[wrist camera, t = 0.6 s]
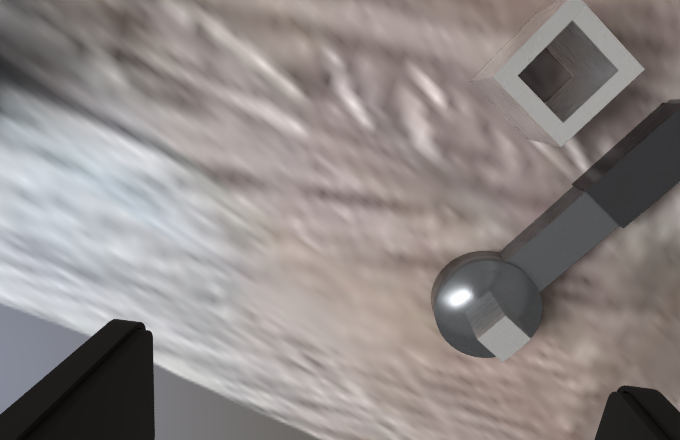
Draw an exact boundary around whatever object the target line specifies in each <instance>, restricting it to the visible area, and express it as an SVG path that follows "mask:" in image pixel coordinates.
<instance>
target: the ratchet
mask: <svg viewBox="0 0 680 440" xmlns="http://www.w3.org/2000/svg"><path fill="white" fill-rule="evenodd" d="M679 181H680V100H669V101H668V102H667V103H662V104H661V105H660V106H659V107H658V108H657V109H655V110H654V111H653V112H652V113H651V114H650V115H649V116H648V117H647V118H645V119H644V120H643V121H642V122H641V123H640V124H639V125H638V126H636V127H635V128H634V129H633V130H632V131H631V132H630V133H629V134H628V135H626V136H625V137H624V138H623V139H622V140H621V141H620V142H619V143H618V144H616V145H615V146H614V147H613V148H612V149H611V150H610V151H609V152H607V153H606V154H605V155H604V156H603V157H602V158H601V159H600V160H599V161H597V162H596V163H595V164H594V165H593V166H592V167H591V168H590V169H589V170H587V171H586V172H585V173H584V174H583V175H582V176H581V177H580V178H578V179H577V180H576V181H575V182H574V183H573V184H572V185H573V187H572V188H571V189H570V190H569V191H568V192H567V193H566V194H564V195H563V196H562V197H561V198H560V199H559V200H558V201H557V202H555V203H554V204H553V205H552V206H551V207H550V208H549V209H548V210H546V211H545V212H544V213H543V214H542V215H541V216H540V217H539V218H538V219H536V220H535V221H534V222H533V223H532V224H531V225H530V226H529V227H527V228H526V229H525V230H524V231H523V232H522V233H521V234H520V235H519V236H517V237H516V238H515V239H514V240H513V241H512V242H511V243H510V244H508V245H507V246H506V247H505V248H504V249H503V250H502V251H501V252H500V253H495V252H489V251H479V252H472V253H468V254H465V255H462V256H460V257H458V258H456V259H454V260H453V261H451V262H450V263H449V264H448V265H446V266H445V267H444V268H443V269H442V271H441V272H440V273H439V275H438V276H437V278H436V280H435V282H434V285H433V288H432V293H431V304H432V309H433V312H434V316H435V319H436V322H437V325H438V328H439V331H440V332H441V334H442V336H443V337H444V339H445V340H446V341H447V342H448V343H449V344H450V345H451V346H452V347H454V348H455V349H457V350H458V351H460V352H462V353H464V354H467V355H470V356H474V357H481V358H491V357H497V358H498V359H499V360H501V361H502V362H504V361H505V360H506V359H507V358H509V357H510V356H511V355H512V354H514V353H515V352H516V351H517V350H519V349H520V348H521V347H522V346H523V345H525V344H526V343H527V342H528V341H530V340H531V339H530V338H531V337H532V336H533V335H534V333H535V332H536V330H537V328H538V326H539V324H540V321H541V318H542V312H543V304H542V298H541V294H540V292H541V291H542V290H543V289H544V288H545V287H547V286H548V285H549V284H550V283H551V282H553V281H554V280H555V279H556V278H557V277H558V276H560V275H561V274H562V273H563V272H564V271H566V270H567V269H568V268H569V267H570V266H572V265H573V264H574V263H575V262H576V261H578V260H579V259H580V258H581V257H582V256H583V255H585V254H586V253H587V252H588V251H589V250H591V249H592V248H593V247H594V246H595V245H597V244H598V243H599V242H600V241H601V240H602V239H604V238H605V237H606V236H607V235H608V234H610V233H611V232H612V231H613V230H614V229H616V228H617V227H618V226H620V227H622V228H624V227H626V226H627V225H628V224H629V223H630V222H632V221H633V220H634V219H635V218H636V217H638V216H639V215H640V214H641V213H642V212H644V211H645V210H646V209H647V208H648V207H650V206H651V205H652V204H653V203H654V202H656V201H657V200H658V199H659V198H660V197H662V196H663V195H664V194H665V193H666V192H668V191H669V190H670V189H671V188H672V187H674V186H675V185H676V184H677V183H678V182H679Z"/></svg>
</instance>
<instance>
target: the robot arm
mask: <svg viewBox="0 0 680 440" xmlns="http://www.w3.org/2000/svg"><path fill="white" fill-rule="evenodd" d="M153 377H154V375H153V336H152V333H151V331H148V330H146V328H145V325H144V324H143V323H142V322H135V321H127V320H119V319H113V320H111V321H110V322H109V323H107V324H106V325H105V326H104V327H103V328H101V329H100V330H99V331H98V332H97V333H96V334H94V335H93V336H92V337H91V338H90V339H89V340H88V341H86V342H85V343H84V344H83V345H82V346H80V347H79V348H78V349H77V350H76V351H74V352H73V353H72V354H71V355H70V356H69V357H67V358H66V359H65V360H64V361H63V362H62V363H60V364H59V365H58V366H57V367H56V368H54V369H53V370H52V371H51V372H50V373H49V374H47V375H46V376H45V377H44V378H43V379H42V380H40V381H39V382H38V383H37V384H36V385H34V386H33V387H32V388H31V389H30V390H29V391H28V392H26V393H25V394H24V395H23V396H22V397H20V398H19V399H18V400H17V401H16V402H15V403H13V404H12V405H11V406H10V407H9V408H7V409H6V410H5V411H4V412H3V413H2V414H0V440H154V438H155V437H154V436H155V428H154V427H155V426H154V378H153ZM595 440H680V412H679V411H678V410H677V409H676V408H675V407H674V406H673V405H672V404H671V403H670V402H669V401H668V400H667V399H666V398H665V397H664V396H663V395H662V394H661V393H660V392H659V391H657V390H654V389H648V388H641V387H633V386H621V387H620V388H619V389H618V390H617V392H612V393H611V394H610V395H609V397H608V400H607V403H606V406H605V409H604V412H603V415H602V418H601V422H600V425H599V428H598V431H597V434H596V437H595Z"/></svg>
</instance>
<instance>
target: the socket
mask: <svg viewBox="0 0 680 440" xmlns="http://www.w3.org/2000/svg"><path fill="white" fill-rule="evenodd" d="M544 48H546V49H547V50H548V51H549V52H550V53H551V54H552V55H553V57H554V58H555V59H556V60H557V61H558V62H559V63H560V64H561V65H562V66H563V67H564V68H565V69H566V70H567V71H568V72H569V74H570V75H571V76H572V77H571V78H570V79H569V80H568V81H567V82H566V83H565V84H564V85H563V86H562V87H560V88H559V89H558V90H557V91H556V92H555V93H554V94H553V95H552V96H551V97H550V98H549V99H548V100H547V101H546V102H545V103H543V102H542V100H541V99H540V98H539V97H538V96H537V95H536V94H535V93H534V92H533V91H532V90H531V89H530V88H529V87H528V86H527V85H526V84H525V83H524V82H523V81H522V80H521V79H520V78H519V77H518V75H519V74H520V73H521V72H522V71H523V70H524V69H525V68H526V67H527V66H528V65H529V63H530V62H531V61H532V60H533V59H534V58H535V57H536V56H537V55H538V54H539V53H540V52H541V51H542V50H543V49H544ZM644 70H645V69H644V68H643V67H642V66H641V65H640V64H639V62H638V61H637V60H636V59H635V58H634V57H633V56H632V55H631V54H630V53H629V51H628V50H627V49H626V48H625V47H624V46H623V45H622V44H621V43H620V42H619V40H618V39H617V38H616V37H615V36H614V35H613V34H612V33H611V32H610V30H609V29H608V28H607V27H606V26H605V25H604V24H603V23H602V22H601V21H600V19H599V18H598V17H597V16H596V15H595V14H594V13H593V12H592V11H591V10H590V8H589V7H588V6H587V5H586V4H585V3H584V2H583V1H582V0H560V1H558V2H556V3H554V4H552V5H550V6H548V7H546V8H544V9H543V10H541V11H539V12H537V13H535V14H534V15H533V16H532V17H531V18H530V19H529V20H528V21H527V22H526V23H525V25H524V26H523V27H522V28H521V29H520V30H519V31H518V32H517V33H516V34H515V35H514V36H513V37H512V38H511V39H510V40H509V41H508V42H507V43H506V44H505V45H504V46H503V47H502V48H501V49H500V51H499V52H498V53H497V54H496V55H495V56H494V57H493V58H492V59H491V60H490V61H489V62H488V63H487V64H486V65H485V66H484V67H483V68H482V69H481V70H480V71H479V72H478V73H477V74H476V76H475V77H474V78H473V79H472V80H471V81H470V82H471V83H472V84H473V85H474V86H475V87H476V88H477V89H478V90H479V91H480V92H481V93H482V94H483V95H484V96H485V97H486V98H487V99H488V100H489V101H490V102H491V103H492V104H493V105H494V106H495V107H496V108H497V109H498V110H499V111H500V112H501V113H502V114H503V115H504V116H505V117H506V118H507V119H508V120H509V121H510V122H511V123H512V124H513V125H514V126H515V127H516V128H517V129H518V130H519V131H520V132H521V133H522V134H523V135H524V136H525V137H526V138H527V139H530V140H534V141H538V142H543V143H547V144H551V145H555V146H559V147H562V146H563V145H564V144H565V143H566V142H567V141H568V140H569V139H570V138H571V137H573V136H574V135H575V134H576V133H577V132H578V131H579V130H580V129H581V128H582V127H583V126H584V125H585V124H587V123H588V122H589V121H590V120H591V119H592V118H593V117H594V116H595V115H596V114H597V113H598V112H599V111H600V110H602V109H603V108H604V107H605V106H606V105H607V104H608V103H609V102H610V101H611V100H612V99H613V98H614V97H616V96H617V95H618V94H619V93H620V92H621V91H622V90H623V89H624V88H625V87H626V86H627V85H628V84H630V83H631V82H632V81H633V80H634V79H635V78H636V77H637V76H638V75H639V74H640V73H641V72H642V71H644Z"/></svg>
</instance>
